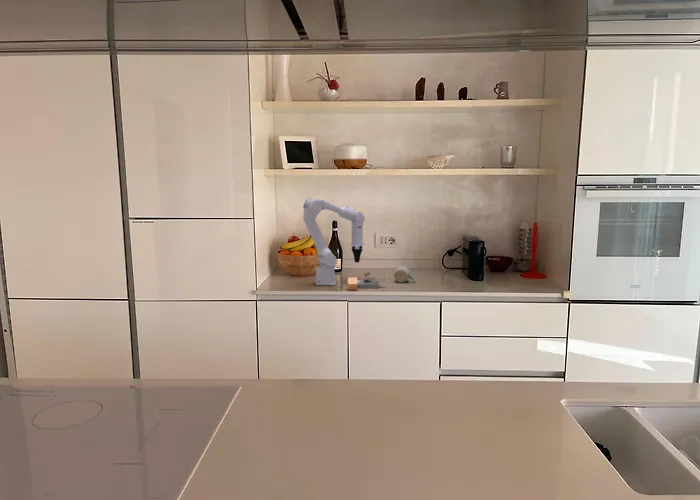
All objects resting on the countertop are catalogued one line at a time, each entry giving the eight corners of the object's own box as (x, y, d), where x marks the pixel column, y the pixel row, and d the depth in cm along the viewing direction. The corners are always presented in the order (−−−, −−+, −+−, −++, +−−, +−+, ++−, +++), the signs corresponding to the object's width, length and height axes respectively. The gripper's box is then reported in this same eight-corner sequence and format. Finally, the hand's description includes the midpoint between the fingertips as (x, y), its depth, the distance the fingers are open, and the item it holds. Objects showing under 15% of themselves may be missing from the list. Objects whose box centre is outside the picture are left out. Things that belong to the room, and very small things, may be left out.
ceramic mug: (393, 282, 263) (393, 268, 262) (395, 279, 271) (396, 265, 270) (414, 284, 260) (414, 269, 259) (415, 280, 268) (416, 266, 267)
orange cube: (347, 290, 247) (347, 283, 244) (348, 283, 250) (347, 277, 248) (357, 290, 247) (357, 283, 244) (357, 283, 250) (357, 277, 248)
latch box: (349, 288, 250) (349, 284, 250) (349, 283, 261) (349, 279, 261) (378, 288, 250) (378, 284, 250) (377, 283, 261) (377, 279, 261)
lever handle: (382, 283, 250) (382, 275, 249) (362, 281, 254) (362, 273, 254) (385, 281, 254) (385, 273, 253) (366, 280, 258) (366, 271, 258)
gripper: (365, 236, 257) (365, 263, 259) (364, 233, 272) (364, 258, 274) (351, 236, 257) (351, 263, 259) (351, 233, 272) (351, 258, 274)
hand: (357, 260), depth 266 cm, fingers open, 7 cm apart
